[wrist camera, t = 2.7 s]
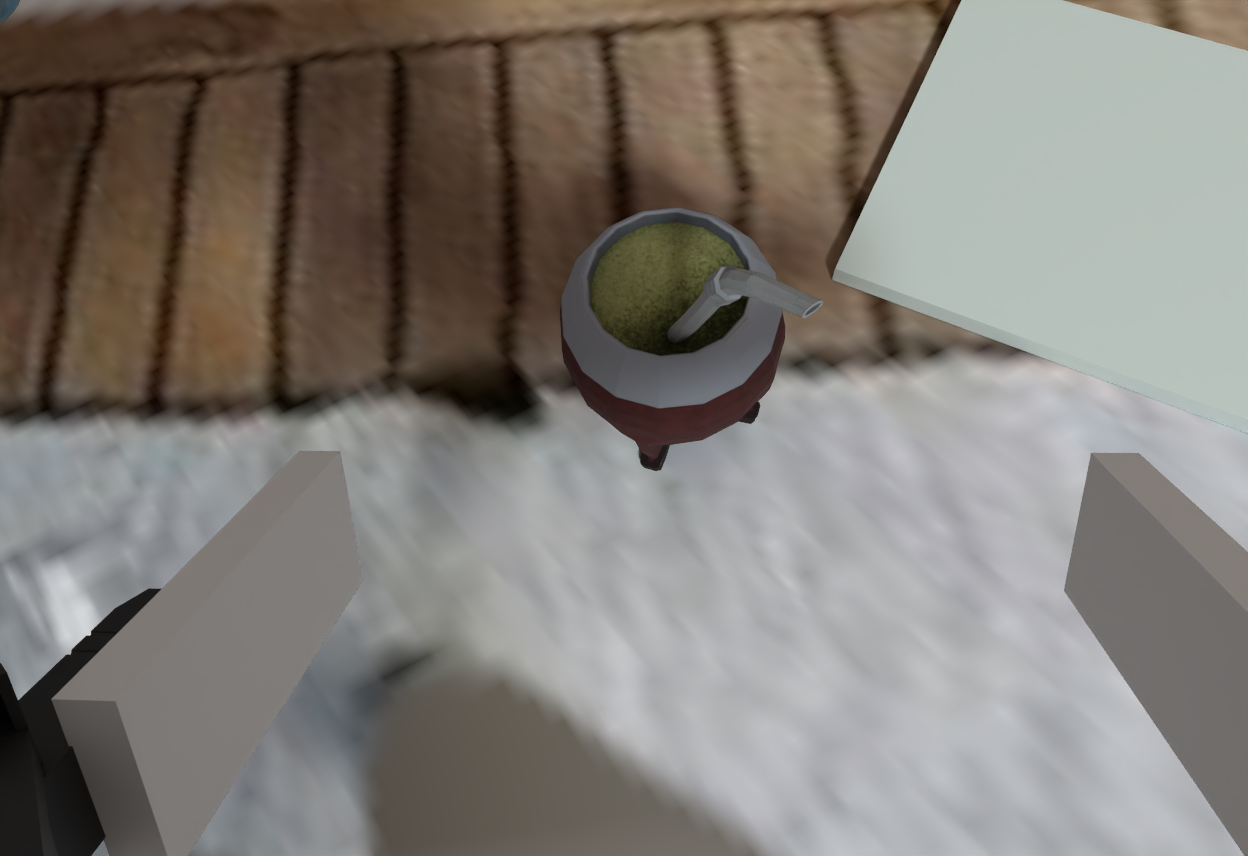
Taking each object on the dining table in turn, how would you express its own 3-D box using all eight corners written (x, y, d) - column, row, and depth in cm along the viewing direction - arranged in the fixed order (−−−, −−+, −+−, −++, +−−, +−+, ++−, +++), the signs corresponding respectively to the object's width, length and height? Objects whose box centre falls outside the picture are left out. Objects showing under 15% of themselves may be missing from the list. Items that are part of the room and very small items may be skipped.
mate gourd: (615, 292, 34) (558, -38, 20) (813, 341, 33) (901, 22, 19) (551, 464, 32) (436, 225, 18) (762, 525, 30) (819, 317, 16)
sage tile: (831, 279, 33) (834, 268, 33) (967, -9, 38) (972, -25, 37) (1467, 514, 28) (1488, 507, 28) (1533, 148, 33) (1552, 134, 32)
